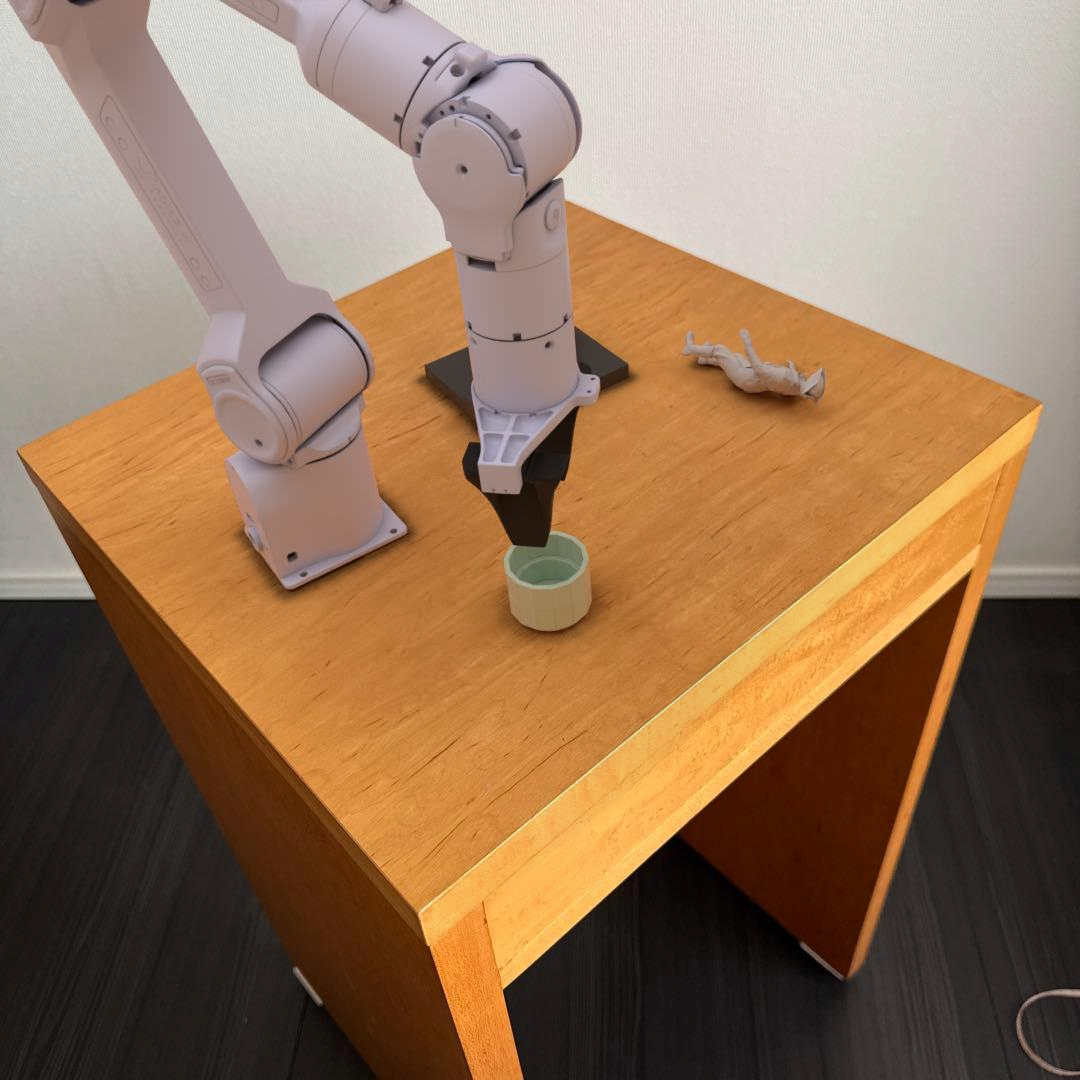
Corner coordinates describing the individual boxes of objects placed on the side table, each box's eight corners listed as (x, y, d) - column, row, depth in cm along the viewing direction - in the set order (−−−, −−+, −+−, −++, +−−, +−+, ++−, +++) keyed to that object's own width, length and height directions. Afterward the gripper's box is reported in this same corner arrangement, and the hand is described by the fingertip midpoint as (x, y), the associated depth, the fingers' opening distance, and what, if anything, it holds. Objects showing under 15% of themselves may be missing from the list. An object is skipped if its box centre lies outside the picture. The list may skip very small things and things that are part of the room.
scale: (491, 449, 86) (487, 417, 84) (418, 382, 94) (412, 351, 92) (634, 382, 91) (633, 350, 89) (554, 323, 99) (551, 293, 97)
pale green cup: (540, 648, 71) (534, 602, 68) (495, 600, 74) (487, 554, 71) (608, 611, 73) (605, 564, 70) (561, 565, 76) (556, 519, 73)
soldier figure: (728, 353, 95) (856, 355, 87) (715, 409, 95) (843, 416, 86) (674, 322, 89) (806, 321, 81) (661, 381, 89) (792, 386, 81)
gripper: (568, 396, 53) (585, 599, 62) (615, 246, 63) (623, 438, 72) (424, 389, 54) (461, 589, 63) (493, 243, 64) (516, 432, 73)
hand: (540, 508), depth 68 cm, fingers open, 5 cm apart
